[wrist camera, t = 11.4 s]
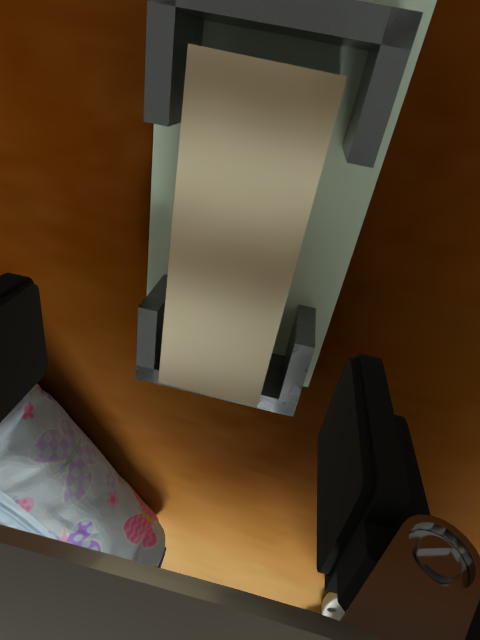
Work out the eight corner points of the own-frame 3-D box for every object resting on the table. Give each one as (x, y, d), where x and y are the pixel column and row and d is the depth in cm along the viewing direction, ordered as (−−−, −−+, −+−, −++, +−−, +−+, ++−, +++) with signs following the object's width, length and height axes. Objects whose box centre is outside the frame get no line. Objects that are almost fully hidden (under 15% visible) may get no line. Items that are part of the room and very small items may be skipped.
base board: (308, 373, 27) (308, 387, 26) (152, 336, 28) (144, 348, 27) (428, 4, 17) (437, -2, 16) (172, -41, 17) (161, -51, 16)
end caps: (296, 371, 26) (292, 416, 22) (159, 339, 26) (135, 378, 23) (401, 25, 16) (423, 11, 13) (183, -14, 17) (148, -37, 13)
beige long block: (269, 339, 25) (257, 407, 20) (191, 320, 25) (158, 382, 20) (339, 76, 17) (347, 76, 12) (226, 52, 18) (188, 43, 13)
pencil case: (182, 521, 39) (146, 635, 31) (111, 530, 42) (62, 637, 34) (51, 351, 31) (-45, 449, 23) (-26, 378, 34) (-134, 472, 26)
